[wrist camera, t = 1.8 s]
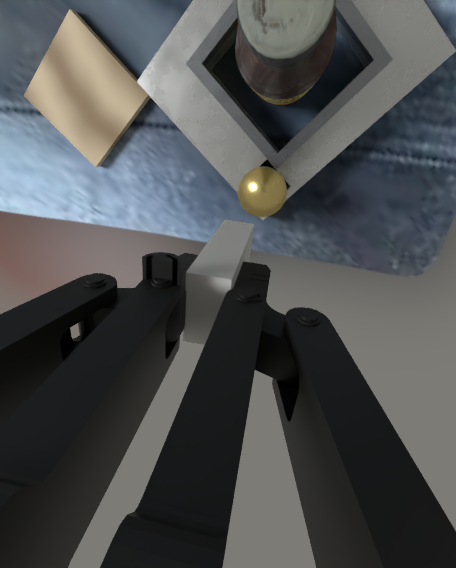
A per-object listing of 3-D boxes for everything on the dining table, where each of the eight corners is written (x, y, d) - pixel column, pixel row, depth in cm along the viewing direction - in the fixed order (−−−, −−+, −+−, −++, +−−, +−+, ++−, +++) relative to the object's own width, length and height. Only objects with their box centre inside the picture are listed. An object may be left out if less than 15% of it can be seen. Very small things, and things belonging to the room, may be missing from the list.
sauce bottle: (239, 84, 32) (170, 34, 14) (273, 11, 29) (241, -165, 11) (295, 120, 32) (297, 116, 15) (335, 52, 29) (397, -55, 12)
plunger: (267, 152, 32) (263, 156, 28) (296, 186, 33) (296, 194, 29) (235, 184, 34) (228, 191, 30) (263, 215, 35) (260, 226, 31)
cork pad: (76, 12, 31) (69, 8, 31) (152, 95, 33) (148, 94, 33) (30, 96, 36) (23, 95, 35) (100, 166, 38) (95, 167, 37)
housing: (310, -144, 24) (313, -190, 21) (443, 56, 28) (465, 47, 24) (147, 84, 33) (129, 79, 30) (264, 214, 37) (261, 224, 33)
